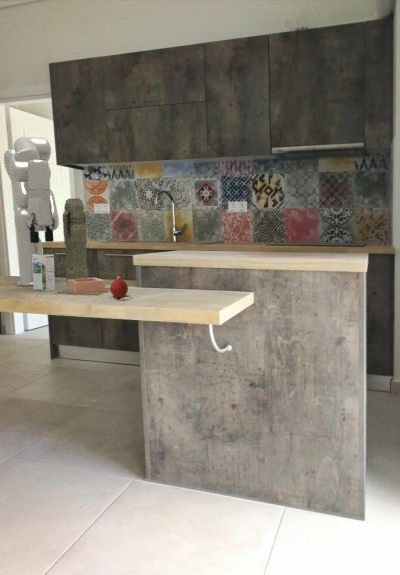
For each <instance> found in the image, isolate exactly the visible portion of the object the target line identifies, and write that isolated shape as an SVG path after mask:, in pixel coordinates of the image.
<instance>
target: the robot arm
mask: <svg viewBox="0 0 400 575" xmlns="http://www.w3.org/2000/svg"><path fill="white" fill-rule="evenodd" d="M51 152H52V146H51V144H50V142H49V141H48V139H46V138H45V137H32V136H29V137H27V136H23V137H22V136H21V137H18V138H16V139H15V140H14V143H13V148H9V149H6V150H5V151H4V154H3V161H4V162H3V164H4V169H5V171H6V173H7V175H8V177H9V179H10V182H11V183H12V188H13V195H14V200H15V204H16V207H17V208H18V210H16V211H15V213H14V216H13V218H14V223H15V227H16V228H15V229H16V234H17V243H18V244H17V245H18V263H19V264H18V266H19V279H20V280H18V281H16V285H17V286H25V287H26V286H27V287H28V286H30V287H31V286H33V287H34V285H33V264H32V255H34V254H44V253H43V252H44V251H43V241H42V239H41V238H40V232H44V241H45V242H46V243H53V242H54V231H55V230H57V229H58V227H59V226H60V225H59V224H60V219H59V213H58V209H57V204H56V200H55V199H56V198H55V195H54V192H53V191H52V189H51V181H50V180H51V176H52V171H51V168H50V164H49V160H50V157H51V156H52V155H51Z"/></svg>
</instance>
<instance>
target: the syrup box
mask: <svg viewBox="0 0 400 575" xmlns="http://www.w3.org/2000/svg"><path fill="white" fill-rule="evenodd" d="M32 264H33V291H36V292H48V291H54V290H56V285H55V284H56V281H55V280H56V279H55V277H56V276H55V275H56V274H55V256H54V253H53V254H52V253H51V254H50V253H49V254H48V253H43V254H34V255H32Z"/></svg>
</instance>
